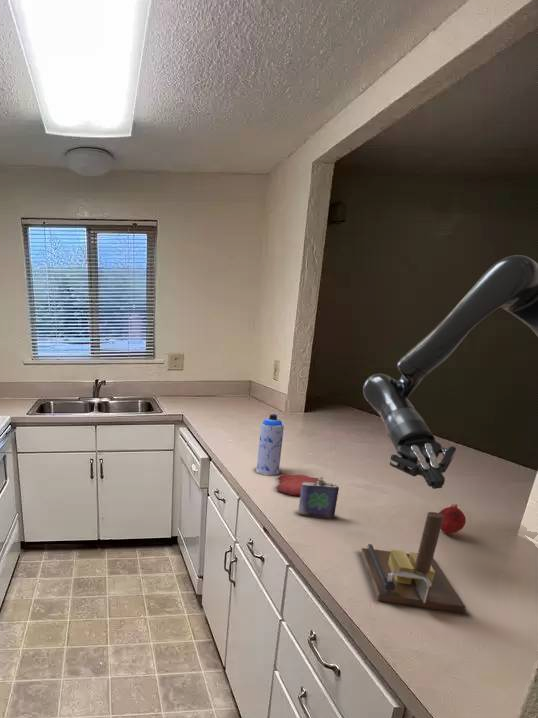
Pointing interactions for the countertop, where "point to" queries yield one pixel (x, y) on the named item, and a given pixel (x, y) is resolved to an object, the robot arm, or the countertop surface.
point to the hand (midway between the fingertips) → (438, 485)
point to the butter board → (409, 591)
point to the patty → (293, 483)
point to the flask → (318, 499)
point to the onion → (452, 519)
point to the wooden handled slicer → (422, 557)
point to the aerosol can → (270, 446)
